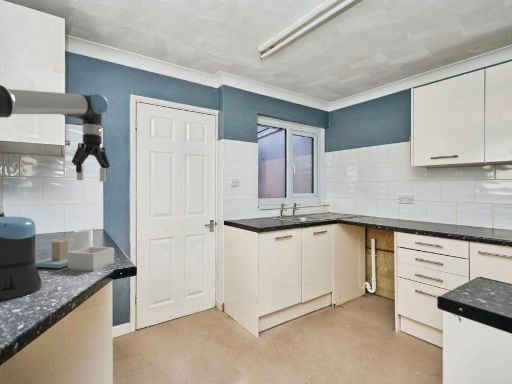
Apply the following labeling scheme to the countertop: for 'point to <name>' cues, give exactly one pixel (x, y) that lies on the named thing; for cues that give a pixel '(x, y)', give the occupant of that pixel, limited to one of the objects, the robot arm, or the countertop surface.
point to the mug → (82, 239)
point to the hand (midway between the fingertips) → (92, 180)
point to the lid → (56, 256)
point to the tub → (90, 258)
